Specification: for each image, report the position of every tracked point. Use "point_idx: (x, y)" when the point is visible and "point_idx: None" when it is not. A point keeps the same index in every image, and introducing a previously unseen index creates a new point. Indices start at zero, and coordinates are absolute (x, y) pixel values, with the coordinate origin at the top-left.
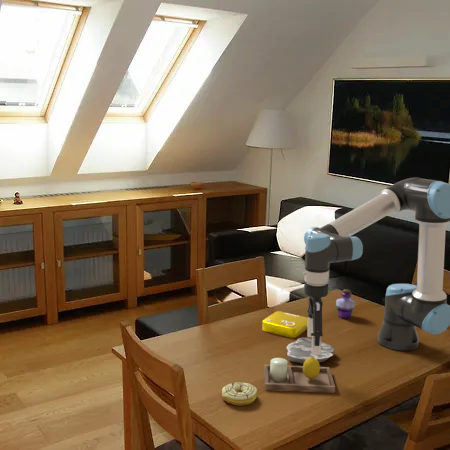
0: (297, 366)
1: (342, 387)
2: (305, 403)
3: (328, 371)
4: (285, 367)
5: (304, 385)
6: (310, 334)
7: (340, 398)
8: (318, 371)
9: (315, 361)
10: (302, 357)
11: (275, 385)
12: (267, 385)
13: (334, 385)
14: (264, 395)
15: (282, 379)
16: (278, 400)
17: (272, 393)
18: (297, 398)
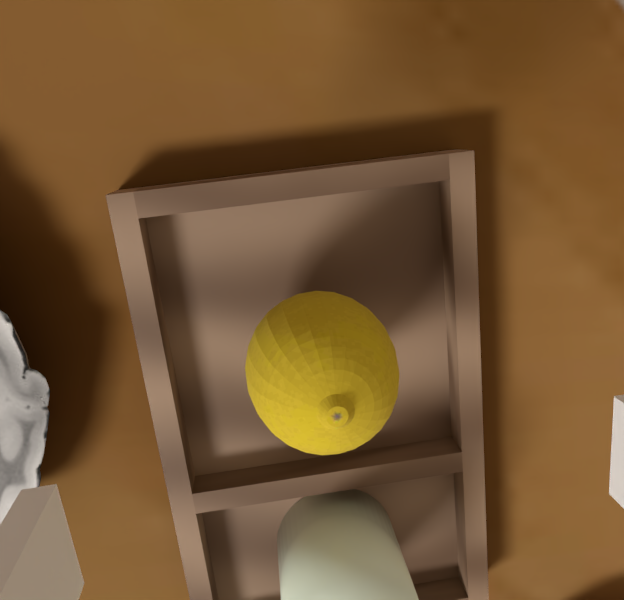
0: (170, 450)
1: (356, 83)
2: (615, 346)
3: (195, 203)
4: (396, 569)
5: (478, 381)
6: (65, 580)
7: (531, 108)
8: (362, 306)
9: (366, 370)
10: (9, 433)
11: (485, 551)
12: (486, 592)
13: (446, 156)
14: (538, 573)
15: (389, 521)
16: (589, 497)
17: (510, 537)
18: (557, 396)
